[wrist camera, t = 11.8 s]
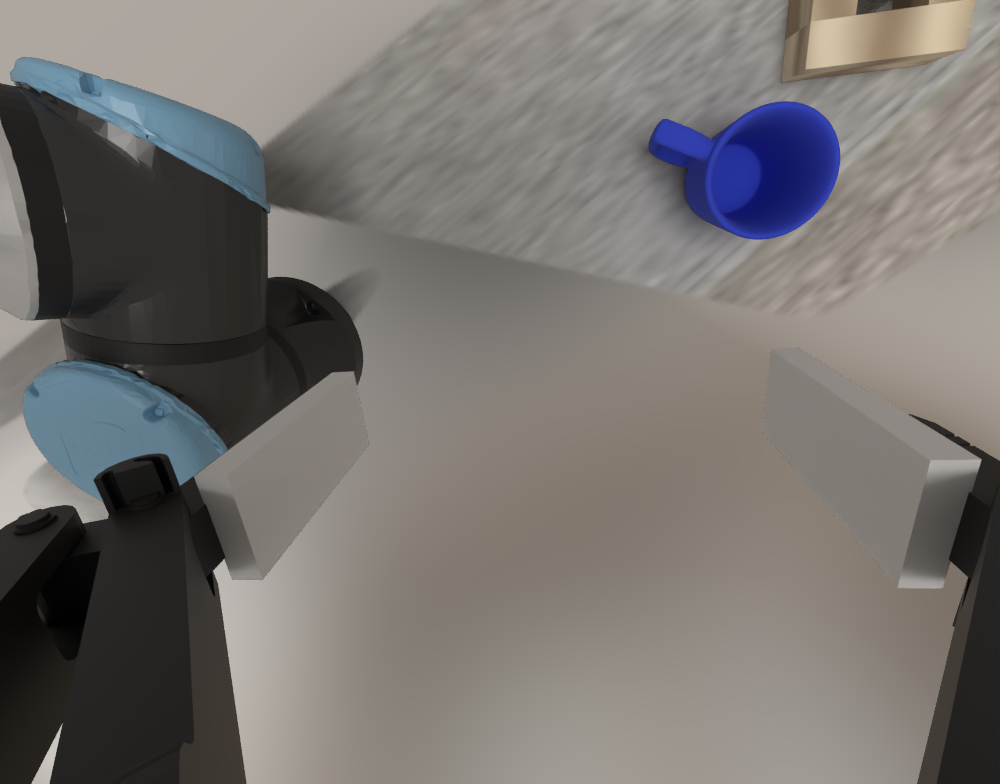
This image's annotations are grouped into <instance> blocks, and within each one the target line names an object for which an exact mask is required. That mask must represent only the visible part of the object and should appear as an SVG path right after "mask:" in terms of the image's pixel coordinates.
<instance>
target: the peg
mask: <svg viewBox="0 0 1000 784" xmlns="http://www.w3.org/2000/svg"><path fill="white" fill-rule="evenodd" d="M890 1H892V0H858V3H857V10H856V15H862V14H869V13H872V12H874V11H875V10H877V9H879V8H880V7H882V6H884V5H885V4H887V3H888V2H890Z"/></svg>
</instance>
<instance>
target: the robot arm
mask: <svg viewBox="0 0 1000 784" xmlns="http://www.w3.org/2000/svg"><path fill="white" fill-rule="evenodd" d="M10 76H11V80H12V81H14V84H15V85H17V86H11V85H6V84H1V83H0V309H2V310H4V311H6V312H8V313H10V314H11V315H13V316H15V317H17V318H19V319H21V320H46V319H60V321H61V327H62V332H63V338H64V344H65V349H66V356H67V360H65V361H61V362H56V363H54V364H52V365H49V366H47V367H46V368H45V369H44V370H43V371H42V373H40V374H38V375H37V376H36V377H35V378H34V381H33V383H32V384H30V385H29V386H28V387H27V388H26V391H25V393H24V397H23V415H24V419H25V422H26V426H27V429H28V431H29V433H30V435H31V437H32V439H33V441H34V442H35V444H36V446H37V447H38V449H39V450H40V451H41V453H42V454H43V455H44V457H45V458H46V459H47V460H48V461H49V463H50V464H51V465H52V466H53V467H54V468H55V469H56V470H57V471H58V472H59V473H60V474H61V475H63V476H64V477H65V478H67V479H68V480H70V481H71V482H73V483H74V484H75V485H76V486H77V487H79V488H80V489H81V490H83V491H84V492H86V493H88V494H89V495H91V496H93V497H95V498H97V499H99V500H101V501H103V502H104V504H105V507H106V509H107V511H108V513H109V516H108V519H104V520H99V521H94V522H89V523H84V524H83V523H82V521H81V519H80V517H79V515H78V513H77V511H76V509H75V508H74V507H73V506H68V505H62V506H55V507H50V508H47V509H43V510H42V509H38V510H35V511H32V512H30V513H28V514H25V515H22V516H20V517H19V518H18V519H17V520H16V521H14V522H12V523H10V524H8V525H6V526H5V527H3V528H2V529H1V530H0V784H31V783H32V781H33V779H34V777H35V775H36V773H37V771H38V769H39V767H40V766H41V764H42V762H43V760H44V758H45V755H46V754H47V752H48V750H49V748H50V746H51V744H52V742H53V740H54V738H55V736H56V734H57V732H58V731H59V728H60V727H61V725H62V723H63V725H62V729H61V734H60V738H59V743H58V747H57V752H56V757H55V761H54V766H53V770H52V775H51V780H50V784H246V778H245V770H244V764H243V756H242V750H241V743H240V735H239V728H238V721H237V714H236V707H235V701H234V694H233V686H232V679H231V673H230V665H229V658H228V651H227V644H226V637H225V630H224V623H223V616H222V609H221V602H220V595H219V588H218V583H217V580H216V578H215V575H214V572H213V570H214V569H215V568H216V567H217V566H218V565H219V564H220V563H221V562H222V561H223V559H225V562H226V564H227V567H228V570H229V572H230V575H231V578H232V580H263V579H264V578H265V576H266V575H267V574H268V573H269V571H270V570H271V569H272V567H273V566H274V565H275V564H276V562H277V561H278V560H279V559H280V557H281V556H282V555H283V553H284V552H285V551H286V550H287V548H288V547H289V546H290V545H291V543H292V542H293V541H294V539H295V538H296V537H297V536H298V534H299V533H300V532H301V531H302V529H303V528H304V527H305V525H306V524H307V523H308V522H309V520H310V519H311V518H312V516H313V515H314V514H315V513H316V511H317V510H318V509H319V508H320V506H321V505H322V504H323V503H324V501H325V500H326V499H327V497H328V496H329V495H330V494H331V492H332V491H333V490H334V489H335V487H336V486H337V485H338V484H339V482H340V481H341V480H342V478H343V477H344V476H345V475H346V473H347V472H348V471H349V470H350V468H351V467H352V466H353V464H354V463H355V462H356V461H357V459H358V458H359V457H360V455H361V454H362V453H363V452H364V450H365V449H366V448H367V447H368V445H369V440H368V436H367V431H366V426H365V422H364V417H363V413H362V408H361V403H360V399H359V394H358V389H357V385H358V382H359V380H360V377H361V373H362V367H363V352H362V346H361V341H360V338H359V335H358V332H357V330H356V328H355V325H354V324H353V322H352V320H351V318H350V317H349V315H348V314H347V312H346V311H345V310H344V309H343V307H342V306H341V305H340V304H339V303H338V302H337V301H336V300H335V299H334V298H333V297H331V296H330V295H329V294H328V293H326V292H325V291H323V290H322V289H320V288H319V287H317V286H315V285H313V284H310V283H308V282H305V281H303V280H299V279H295V278H289V277H272V278H268V241H267V240H268V232H267V230H268V227H267V225H268V224H267V221H268V218H267V213H270V206H269V203H268V202H267V201H266V184H265V167H264V158H263V154H262V151H261V149H260V147H259V146H258V144H257V143H256V141H255V140H254V139H253V138H252V137H251V136H250V135H249V134H248V133H247V132H246V131H244V130H242V129H241V128H239V127H237V126H235V125H234V124H232V123H230V122H227V121H225V120H223V119H221V118H218V117H216V116H213V115H211V114H208V113H206V112H203V111H201V110H198V109H195V108H193V107H190V106H187V105H185V104H182V103H179V102H177V101H174V100H171V99H168V98H165V97H163V96H160V95H157V94H154V93H151V92H148V91H145V90H142V89H139V88H136V87H133V86H130V85H127V84H123V83H120V82H117V81H114V80H111V79H110V80H109V79H102V78H100V77H99V76H96V75H93V74H89V73H85V72H82V71H79V70H77V69H74V68H72V67H69V66H65V65H62V64H58V63H54V62H50V61H46V60H42V59H37V58H32V57H30V58H29V57H22V58H19V59H17V60H16V62H15V67H14V69H13V70H12V71H11V72H10ZM762 433H763V435H764V436H765V437H766V438H767V439H768V440H769V441H770V443H771V444H772V445H773V446H774V447H775V448H776V449H777V451H778V452H779V453H780V454H781V455H782V456H783V457H784V459H785V460H786V461H787V462H788V463H789V464H790V466H791V467H792V468H793V469H794V470H795V471H796V472H797V473H798V475H799V476H800V477H801V478H802V479H803V480H804V481H805V483H806V484H807V485H808V486H809V487H810V488H811V489H812V491H813V492H814V493H815V494H816V495H817V496H818V498H819V499H820V500H821V501H822V502H823V503H824V504H825V506H826V507H827V508H828V509H829V510H830V511H831V513H832V514H833V515H834V516H835V517H836V518H837V519H838V521H840V523H841V524H842V525H843V526H844V527H845V528H846V530H847V531H848V532H849V533H850V534H851V535H852V537H853V538H854V539H855V540H856V541H857V542H858V543H859V545H860V546H861V547H862V548H863V549H864V550H865V552H866V553H867V554H868V555H869V556H870V557H871V558H872V560H873V561H874V562H875V563H876V564H877V565H878V566H879V567H880V569H881V570H882V571H883V572H884V573H885V574H886V576H887V577H888V578H889V579H890V580H891V581H892V582H893V584H894V585H895V586H896V587H897V588H943V585H944V582H945V578H946V575H947V572H948V568H949V565H950V562H952V563H953V564H954V565H956V566H957V567H958V568H959V569H960V570H961V571H962V572H963V573H964V574H965V575H967V576H968V579H967V582H966V585H965V589H964V592H963V595H962V598H961V601H960V604H959V607H958V610H957V613H956V616H955V619H954V622H953V626H954V627H955V628H954V632H953V636H952V641H951V645H950V649H949V653H948V657H947V661H946V666H945V670H944V674H943V678H942V682H941V686H940V691H939V695H938V699H937V703H936V707H935V711H934V716H933V720H932V724H931V728H930V732H929V737H928V741H927V745H926V749H925V753H924V757H923V762H922V766H921V770H920V774H919V778H918V782H917V784H1000V461H999V460H997V459H995V458H994V457H992V456H990V455H989V454H987V453H985V452H984V451H982V450H980V449H979V448H977V447H975V446H970V443H968V442H967V441H965V440H963V439H962V438H960V437H958V436H957V437H955V436H954V434H953V433H951V432H950V431H948V430H946V429H945V428H943V427H941V426H940V425H938V424H936V423H934V422H931V421H928V420H925V419H922V418H920V417H917V416H914V415H911V414H907V413H905V412H903V411H902V410H900V409H898V408H897V407H895V406H894V405H892V404H890V403H889V402H887V401H885V400H884V399H882V398H881V397H879V396H877V395H876V394H874V393H872V392H871V391H869V390H867V389H866V388H864V387H862V386H861V385H859V384H858V383H856V382H854V381H853V380H851V379H849V378H848V377H846V376H845V375H843V374H841V373H840V372H838V371H836V370H835V369H833V368H831V367H830V366H828V365H827V364H825V363H823V362H822V361H820V360H818V359H817V358H815V357H813V356H812V355H810V354H809V353H807V352H805V351H803V350H802V349H800V348H781V349H771V355H770V363H769V372H768V381H767V390H766V399H765V408H764V416H763V425H762Z"/></svg>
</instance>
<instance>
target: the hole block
mask: <svg viewBox="0 0 1000 784" xmlns="http://www.w3.org/2000/svg"><path fill="white" fill-rule="evenodd" d="M975 2H976V0H894V5H893V10H890V11H883V12H876V13H869V14H862V15H856V10H857V3H858V0H790V1H789V11H788V21H787V30H786V40H785V50H784V60H783V70H782V80H781V83H782V82H790V81H798V80H806V79H814V78H822V77H830V76H838V75H846V74H854V73H862V72H870V71H878V70H886V69H894V68H902V67H910V66H917V65H924V64H927V63H930V62H932V61H935V60H938V59H940V58H943V57H946V56H948V55H951V54H954V53H956V52H959V51H961V50H964V49H965V48H966V44H967V39H968V34H969V30H970V25H971V20H972V16H973V11H974V7H975Z"/></svg>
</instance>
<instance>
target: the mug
mask: <svg viewBox="0 0 1000 784" xmlns="http://www.w3.org/2000/svg"><path fill="white" fill-rule="evenodd" d="M649 151H650V152H651V153H652V154H653V155H654V156H656V157H657V158H659V159H661V160H663V161H666V162H668V163H671V164H673V165H676V166H680V167H688V169H687V173H686V178H685V194H686V198H687V201H688V203H689V205H690V207H691V209H692V210H693V211H694V212H695V213H696V215H698V216H699V217H700V218H702V219H703V220H705V221H707V222H709V223H711V224H713V225H715V226H718V227H720V228H722V229H724V230H726V231H728V232H730V233H733V234H735V235H737V236H740V237H743V238H748V239H770V238H775V237H778V236H782V235H785V234H787V233H789V232H791V231H793V230H795V229H797V228H798V227H800V226H801V225H803V224H804V223H806V222H807V221H808V220H809V219H811V218H812V217H813V216H814V215H815V214H816V213H817V212H818V211H819V209H820V208H821V207H822V206H823V204H824V203H825V202H826V200H827V199H828V197H829V195H830V193H831V192H832V189H833V187H834V185H835V182H836V179H837V176H838V172H839V166H840V148H839V142H838V138H837V135H836V133H835V131H834V129H833V127H832V125H831V124H830V122H829V121H828V120H827V119H826V118H825V117H824V116H823V115H822V114H821V113H820V112H818V111H817V110H815V109H814V108H812V107H810V106H807V105H804V104H801V103H797V102H775V103H770V104H766V105H763V106H760V107H758V108H756V109H753V110H751V111H750V112H748V113H746V114H745V115H743V116H742V117H740V118H739V119H737V120H736V121H735V122H733V123H732V124H731V125H729V126H728V127H727V128H725V129H724V130H723V131H721V132H720V133H719V134H717V135H716V136H715V137H713V138H712V139H709V138H708V137H706V136H704V135H703V134H701V133H699V132H697V131H695V130H693V129H691V128H688V127H686V126H683V125H681V124H679V123H676V122H673V121H671V120H668V119H663V120H661V121H660V122H659V123H658V125H657V126H656V128H655V130H654V131H653V133H652V136H651V138H650V141H649Z"/></svg>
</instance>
